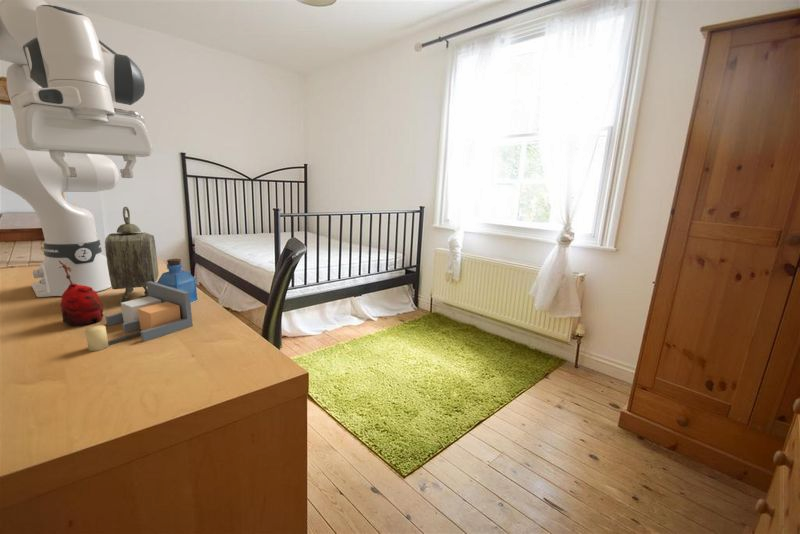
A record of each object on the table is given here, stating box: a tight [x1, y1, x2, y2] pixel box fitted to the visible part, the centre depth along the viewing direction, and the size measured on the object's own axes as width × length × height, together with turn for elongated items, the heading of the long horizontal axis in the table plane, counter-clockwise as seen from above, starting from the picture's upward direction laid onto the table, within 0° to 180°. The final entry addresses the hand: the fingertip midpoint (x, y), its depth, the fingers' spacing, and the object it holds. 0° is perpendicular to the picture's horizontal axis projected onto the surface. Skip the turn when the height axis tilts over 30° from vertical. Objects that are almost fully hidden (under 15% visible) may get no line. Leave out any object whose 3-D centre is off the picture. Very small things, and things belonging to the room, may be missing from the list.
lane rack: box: [105, 281, 194, 342], centre depth 79 cm, size 16×10×8 cm, turn 61°
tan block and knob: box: [84, 302, 181, 352], centre depth 74 cm, size 5×16×5 cm, turn 151°
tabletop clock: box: [104, 206, 159, 304], centre depth 96 cm, size 14×9×25 cm, turn 29°
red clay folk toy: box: [59, 261, 104, 326], centre depth 79 cm, size 8×7×15 cm
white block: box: [120, 296, 161, 323], centre depth 81 cm, size 5×6×5 cm
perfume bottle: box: [156, 258, 198, 304], centre depth 93 cm, size 6×6×12 cm
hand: (100, 177), depth 70 cm, fingers open, 8 cm apart
